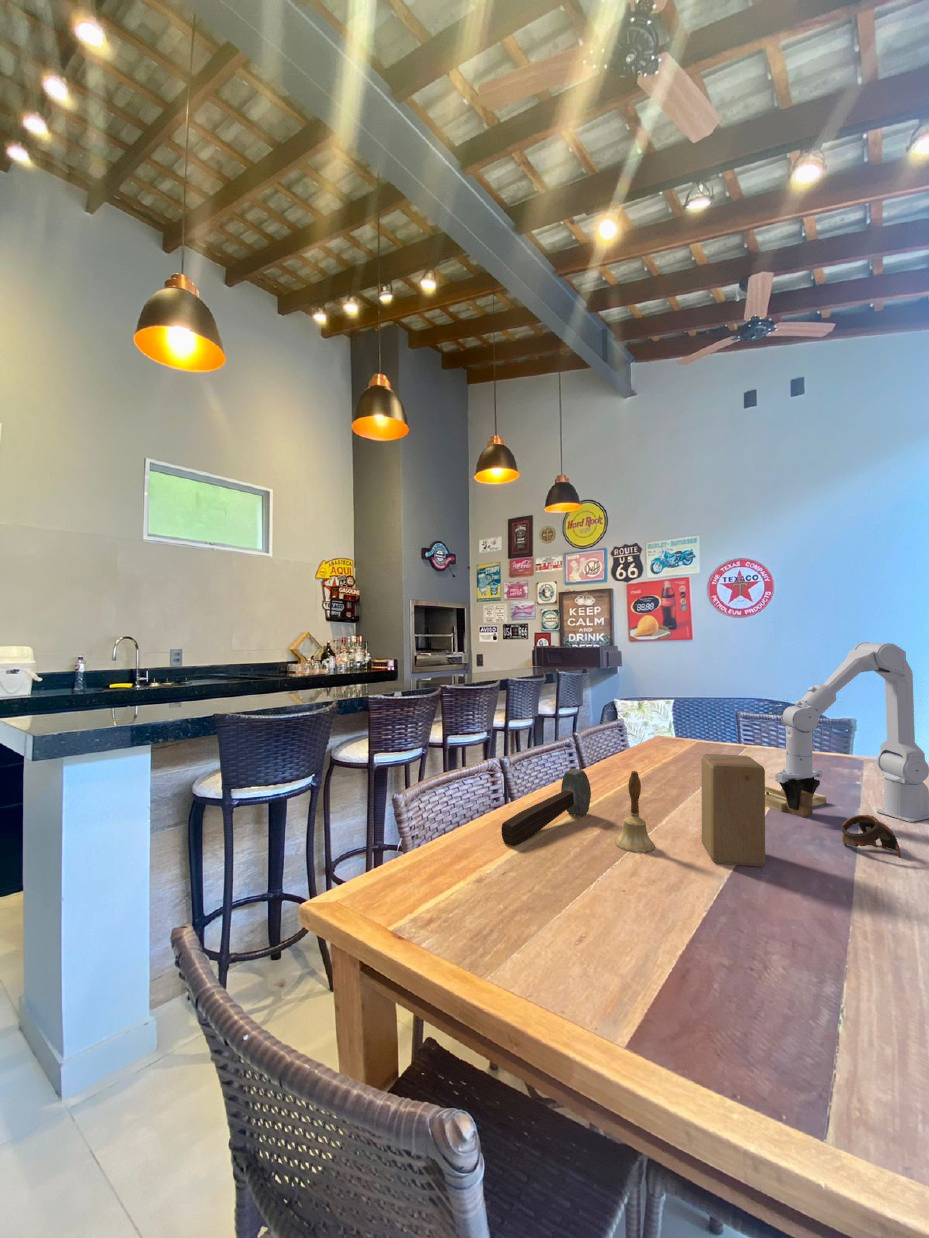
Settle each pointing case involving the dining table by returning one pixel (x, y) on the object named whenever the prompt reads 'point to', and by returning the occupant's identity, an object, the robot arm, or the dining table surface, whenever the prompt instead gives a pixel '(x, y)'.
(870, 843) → the broken clay pot
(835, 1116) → the dining table surface
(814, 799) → the board
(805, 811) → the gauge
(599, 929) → the dining table surface
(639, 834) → the hand bell
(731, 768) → the wooden block
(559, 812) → the hammer
